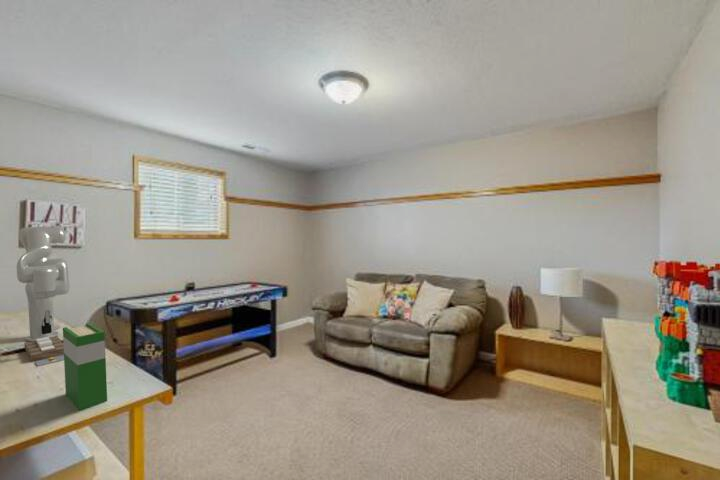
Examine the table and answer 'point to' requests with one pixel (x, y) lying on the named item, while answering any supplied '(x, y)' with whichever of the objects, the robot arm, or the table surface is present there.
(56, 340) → the button board
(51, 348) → the button
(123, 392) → the table surface
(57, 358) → the card
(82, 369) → the hardback book
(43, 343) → the button middle
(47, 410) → the table surface
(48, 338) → the button
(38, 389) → the table surface
